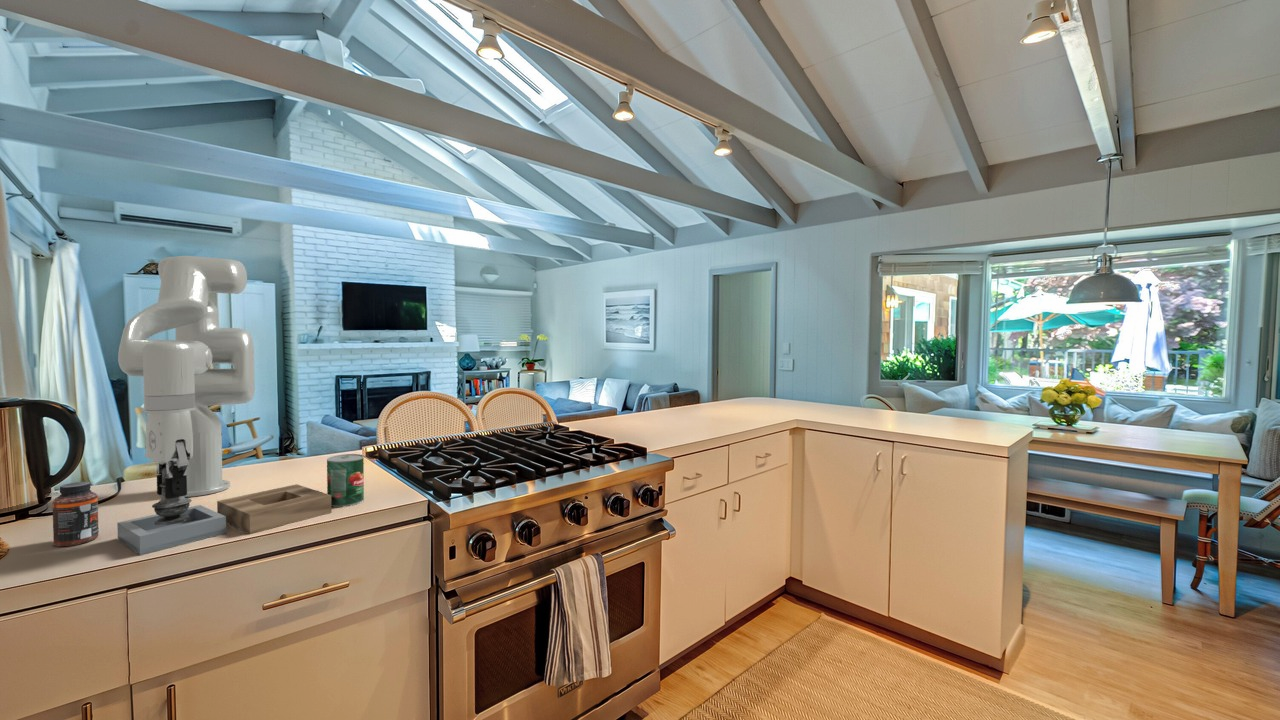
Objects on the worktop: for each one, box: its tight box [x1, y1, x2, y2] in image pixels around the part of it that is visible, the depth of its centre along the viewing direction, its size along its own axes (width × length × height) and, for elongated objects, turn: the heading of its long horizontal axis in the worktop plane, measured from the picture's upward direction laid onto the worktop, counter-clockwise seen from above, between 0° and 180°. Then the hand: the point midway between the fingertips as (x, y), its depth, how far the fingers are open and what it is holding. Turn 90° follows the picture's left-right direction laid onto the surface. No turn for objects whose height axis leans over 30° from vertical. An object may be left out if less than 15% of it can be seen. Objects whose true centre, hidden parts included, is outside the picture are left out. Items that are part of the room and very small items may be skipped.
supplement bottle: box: [52, 481, 99, 547], centre depth 100 cm, size 6×6×11 cm
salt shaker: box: [151, 461, 192, 525], centre depth 103 cm, size 6×6×12 cm
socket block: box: [216, 484, 332, 535], centre depth 116 cm, size 16×16×4 cm
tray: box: [116, 504, 227, 556], centre depth 103 cm, size 13×13×4 cm
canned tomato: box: [326, 453, 365, 508], centre depth 126 cm, size 8×8×11 cm
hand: (172, 494), depth 103 cm, fingers closed on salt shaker, 3 cm apart
